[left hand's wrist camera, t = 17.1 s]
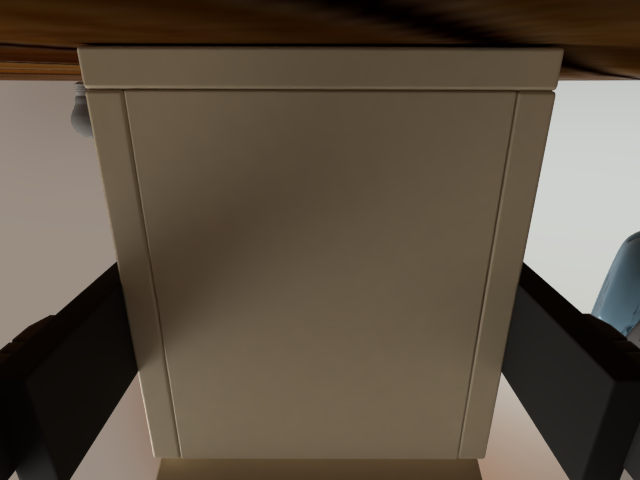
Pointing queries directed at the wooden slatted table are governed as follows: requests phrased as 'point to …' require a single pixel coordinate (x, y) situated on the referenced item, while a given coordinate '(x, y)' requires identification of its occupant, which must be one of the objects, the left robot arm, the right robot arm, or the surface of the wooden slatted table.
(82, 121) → the light bulb
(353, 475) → the lid
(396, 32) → the wooden slatted table surface
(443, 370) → the chest
